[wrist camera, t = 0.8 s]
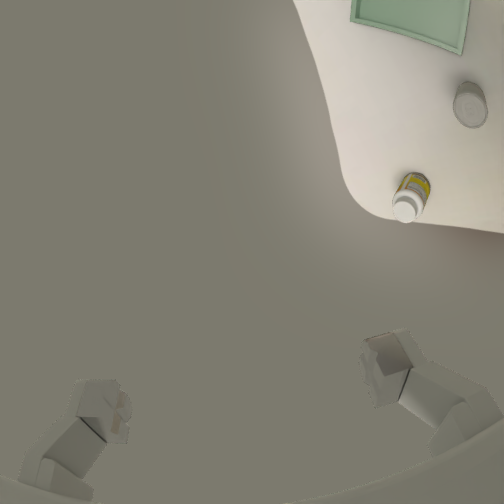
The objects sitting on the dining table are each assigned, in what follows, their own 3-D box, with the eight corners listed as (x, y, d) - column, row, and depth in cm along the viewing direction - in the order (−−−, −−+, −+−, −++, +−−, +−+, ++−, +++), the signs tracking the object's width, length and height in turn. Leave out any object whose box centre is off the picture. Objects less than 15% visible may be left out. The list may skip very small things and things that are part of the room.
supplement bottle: (407, 200, 52) (393, 228, 47) (399, 173, 50) (383, 198, 45) (434, 197, 48) (423, 226, 43) (426, 169, 46) (415, 195, 41)
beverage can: (461, 112, 36) (458, 131, 29) (452, 83, 34) (447, 94, 27) (488, 109, 32) (492, 127, 26) (479, 79, 30) (481, 89, 24)
